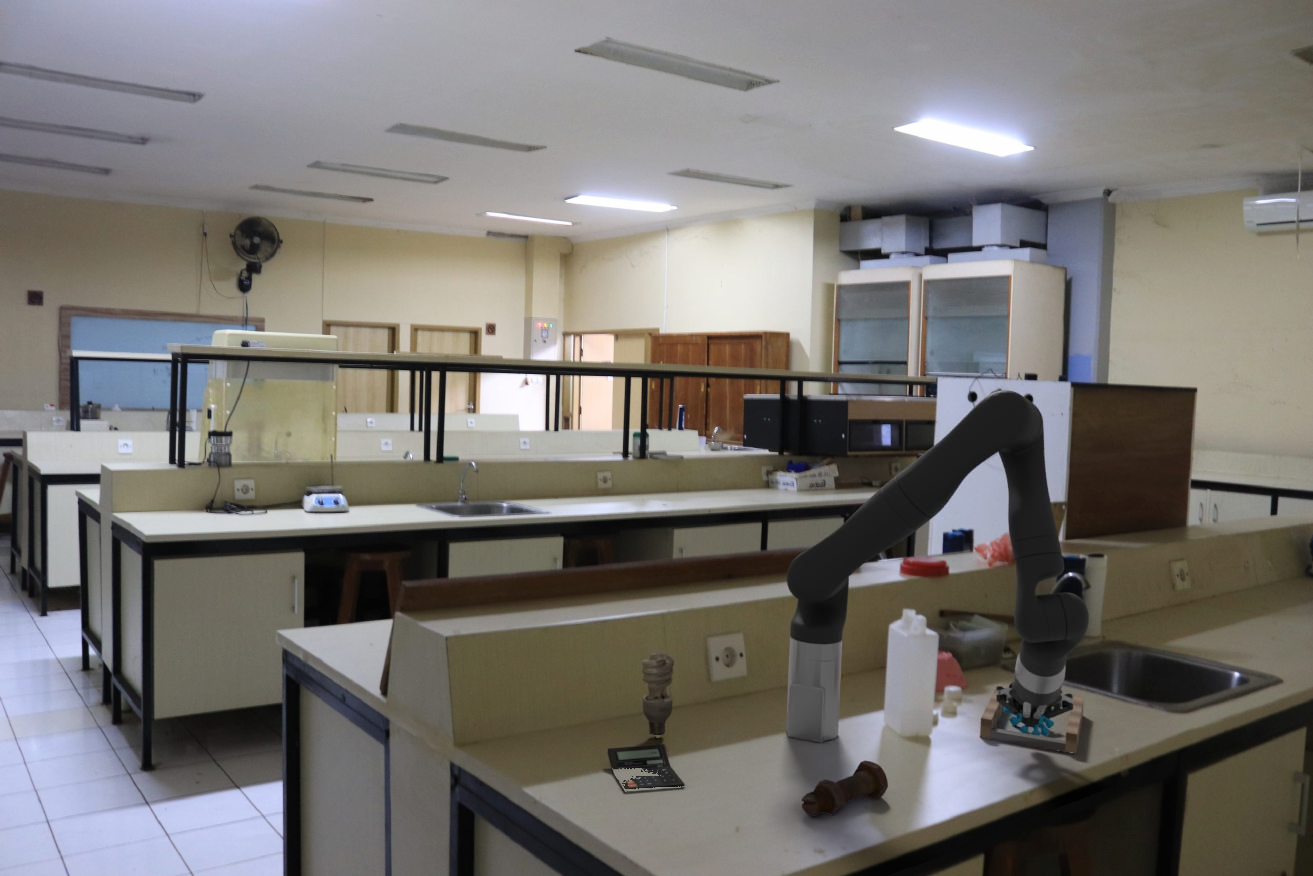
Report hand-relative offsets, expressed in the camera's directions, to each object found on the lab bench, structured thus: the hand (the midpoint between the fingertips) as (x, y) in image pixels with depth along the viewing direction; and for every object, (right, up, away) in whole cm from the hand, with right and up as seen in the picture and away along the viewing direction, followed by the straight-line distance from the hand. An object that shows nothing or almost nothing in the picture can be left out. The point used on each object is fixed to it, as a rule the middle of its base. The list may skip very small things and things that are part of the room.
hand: (1029, 722), depth 174 cm
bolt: (-39, -4, -29) cm, 49 cm away
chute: (+5, -4, +10) cm, 12 cm away
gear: (+3, -4, +7) cm, 9 cm away
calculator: (-68, -3, -20) cm, 71 cm away
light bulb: (-66, -2, -3) cm, 67 cm away
